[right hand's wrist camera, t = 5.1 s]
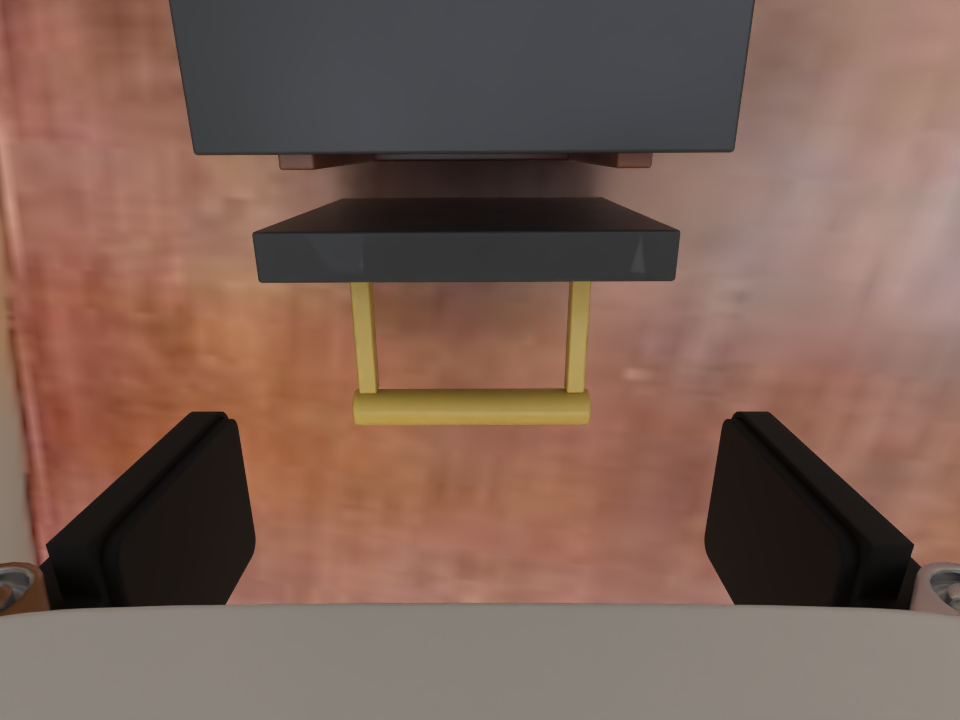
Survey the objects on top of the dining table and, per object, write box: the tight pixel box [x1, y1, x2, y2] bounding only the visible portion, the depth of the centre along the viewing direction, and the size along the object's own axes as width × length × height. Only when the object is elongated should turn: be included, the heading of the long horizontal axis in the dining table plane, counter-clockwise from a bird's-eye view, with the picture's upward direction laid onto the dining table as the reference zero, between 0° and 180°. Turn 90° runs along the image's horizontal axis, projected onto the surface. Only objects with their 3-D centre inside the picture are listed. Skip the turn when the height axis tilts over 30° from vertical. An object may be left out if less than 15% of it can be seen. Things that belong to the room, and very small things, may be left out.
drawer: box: [252, 153, 680, 425], centre depth 16 cm, size 22×10×9 cm, turn 0°
